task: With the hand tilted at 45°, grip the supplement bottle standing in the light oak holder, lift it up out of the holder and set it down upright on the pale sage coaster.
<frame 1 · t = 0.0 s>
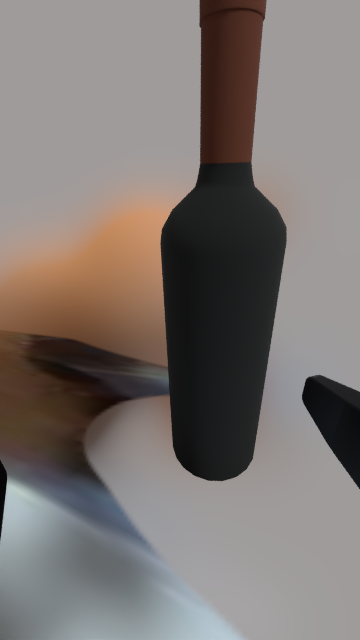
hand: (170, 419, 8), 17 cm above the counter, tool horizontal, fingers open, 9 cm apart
wine bottle: (212, 443, 27), on the counter
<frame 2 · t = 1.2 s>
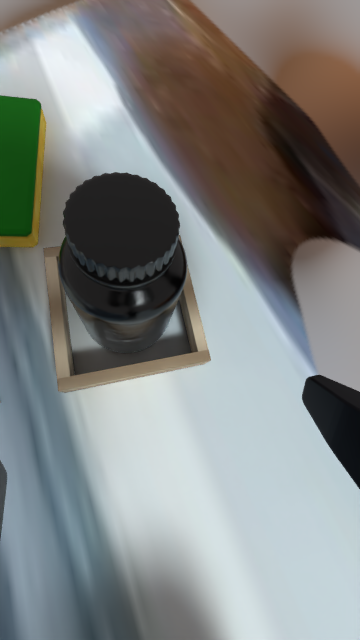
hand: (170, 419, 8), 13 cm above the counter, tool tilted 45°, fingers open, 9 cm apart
oak holder: (126, 312, 23), on the counter
dish sponge: (1, 181, 25), on the counter
supplement bottle: (126, 313, 23), resting in oak holder
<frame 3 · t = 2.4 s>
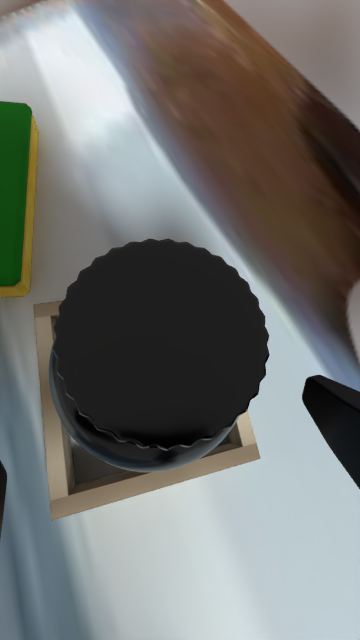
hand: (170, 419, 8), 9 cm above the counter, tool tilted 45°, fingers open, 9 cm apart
oak holder: (143, 383, 17), on the counter
supplement bottle: (143, 384, 17), resting in oak holder
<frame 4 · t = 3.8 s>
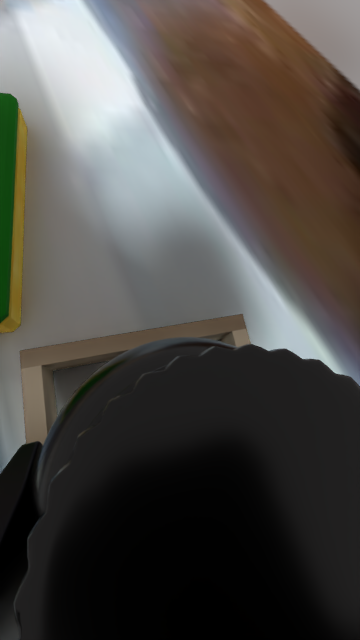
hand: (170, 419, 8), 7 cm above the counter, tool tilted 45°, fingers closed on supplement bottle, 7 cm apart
oak holder: (158, 442, 14), on the counter
supplement bottle: (157, 442, 14), resting in oak holder, touching gripper
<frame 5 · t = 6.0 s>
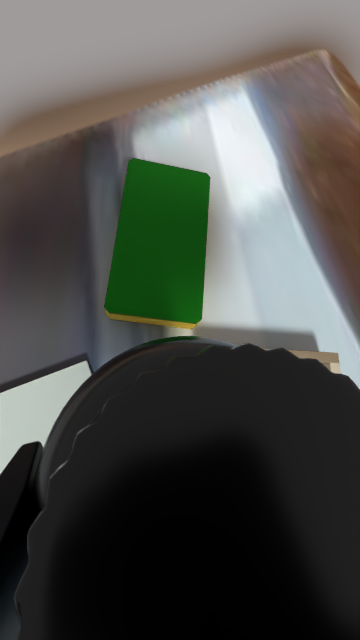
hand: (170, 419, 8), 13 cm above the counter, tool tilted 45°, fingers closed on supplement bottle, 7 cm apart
oak holder: (266, 422, 21), on the counter
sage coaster: (36, 463, 18), on the counter
dish sponge: (159, 250, 25), on the counter
supplement bottle: (159, 440, 14), point 6 cm above the counter, touching gripper
when the fingers open (9 cm above the counter, at t = 8.1 s): supplement bottle drops 1 cm, resting on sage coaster.
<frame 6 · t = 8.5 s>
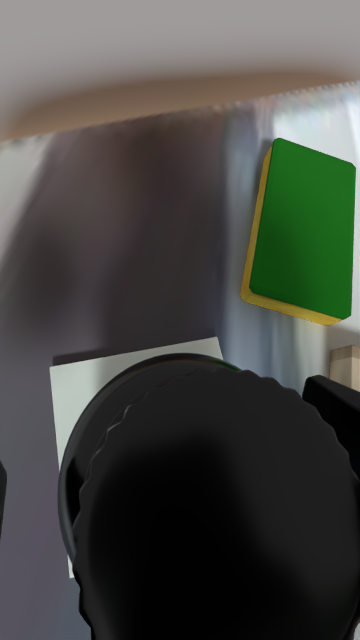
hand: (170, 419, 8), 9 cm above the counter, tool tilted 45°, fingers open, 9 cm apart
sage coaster: (153, 437, 16), on the counter
dish sponge: (290, 238, 23), on the counter
supplement bottle: (158, 442, 16), resting on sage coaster
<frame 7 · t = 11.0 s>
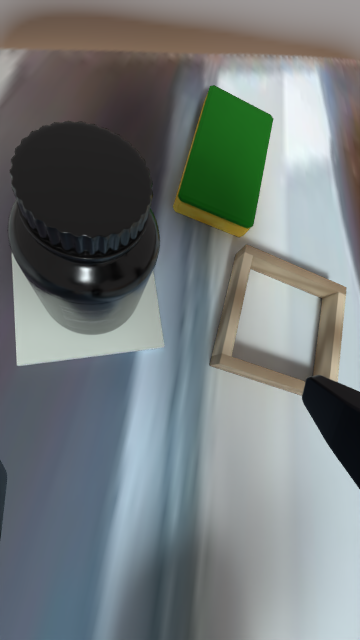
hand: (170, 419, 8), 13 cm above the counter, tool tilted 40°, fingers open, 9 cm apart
oak holder: (275, 326, 25), on the counter
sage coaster: (89, 290, 21), on the counter
dish sponge: (219, 171, 29), on the counter
supplement bottle: (92, 291, 21), resting on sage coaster
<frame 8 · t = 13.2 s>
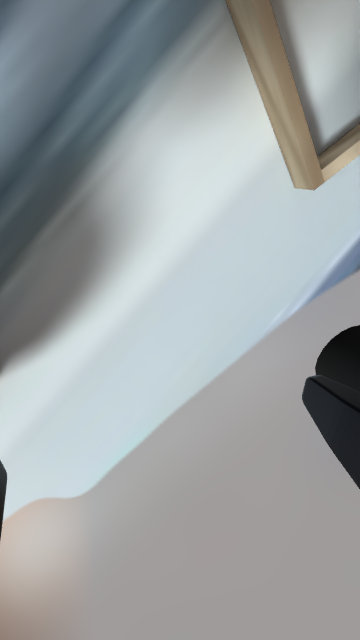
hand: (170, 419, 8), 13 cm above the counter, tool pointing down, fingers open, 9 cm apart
oak holder: (339, 47, 16), on the counter
wine bottle: (344, 355, 30), on the counter
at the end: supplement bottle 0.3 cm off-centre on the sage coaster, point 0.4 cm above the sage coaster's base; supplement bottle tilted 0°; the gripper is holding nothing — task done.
